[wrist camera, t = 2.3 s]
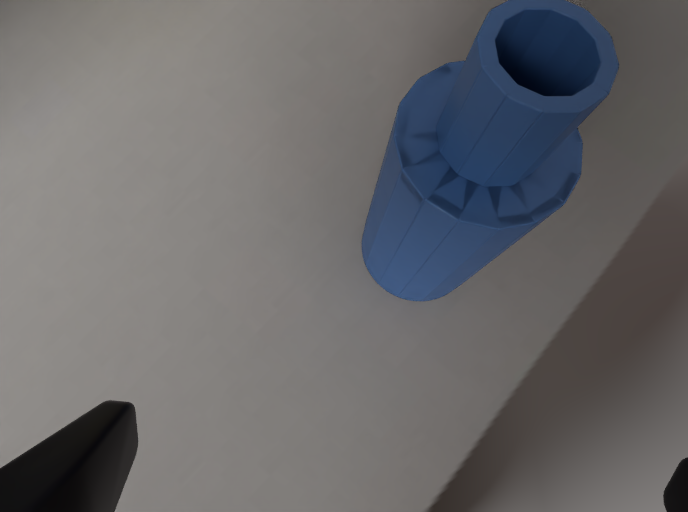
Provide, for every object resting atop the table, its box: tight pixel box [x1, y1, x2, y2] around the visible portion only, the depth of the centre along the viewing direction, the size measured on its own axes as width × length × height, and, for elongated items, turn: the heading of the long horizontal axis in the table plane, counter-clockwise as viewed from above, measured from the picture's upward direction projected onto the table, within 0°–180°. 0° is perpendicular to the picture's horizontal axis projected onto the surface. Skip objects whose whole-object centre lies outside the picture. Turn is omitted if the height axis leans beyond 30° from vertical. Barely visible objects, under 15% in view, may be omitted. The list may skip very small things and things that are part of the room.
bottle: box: [362, 0, 619, 301], centre depth 16 cm, size 5×5×14 cm
